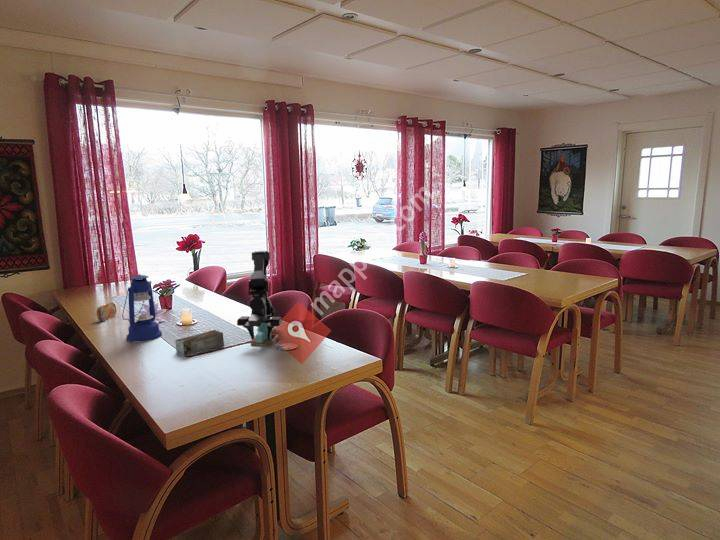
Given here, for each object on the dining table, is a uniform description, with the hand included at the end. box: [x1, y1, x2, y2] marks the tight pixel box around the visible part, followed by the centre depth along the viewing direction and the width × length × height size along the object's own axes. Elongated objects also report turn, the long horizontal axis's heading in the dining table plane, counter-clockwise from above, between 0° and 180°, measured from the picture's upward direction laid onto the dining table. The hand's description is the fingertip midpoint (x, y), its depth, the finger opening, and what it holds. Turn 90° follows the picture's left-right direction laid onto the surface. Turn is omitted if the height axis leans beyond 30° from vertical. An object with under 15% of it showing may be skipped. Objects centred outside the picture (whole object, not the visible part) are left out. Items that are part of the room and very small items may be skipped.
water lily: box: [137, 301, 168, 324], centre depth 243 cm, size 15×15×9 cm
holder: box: [250, 334, 280, 346], centre depth 209 cm, size 10×10×2 cm
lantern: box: [122, 274, 162, 342], centre depth 216 cm, size 17×15×30 cm
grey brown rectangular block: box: [174, 329, 225, 357], centre depth 200 cm, size 8×19×7 cm, turn 137°
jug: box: [254, 323, 273, 343], centre depth 206 cm, size 12×6×10 cm, turn 175°
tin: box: [96, 302, 117, 322], centre depth 250 cm, size 15×3×8 cm, turn 179°
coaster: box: [276, 342, 291, 351], centre depth 201 cm, size 9×9×1 cm
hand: (260, 339), depth 203 cm, fingers open, 7 cm apart
